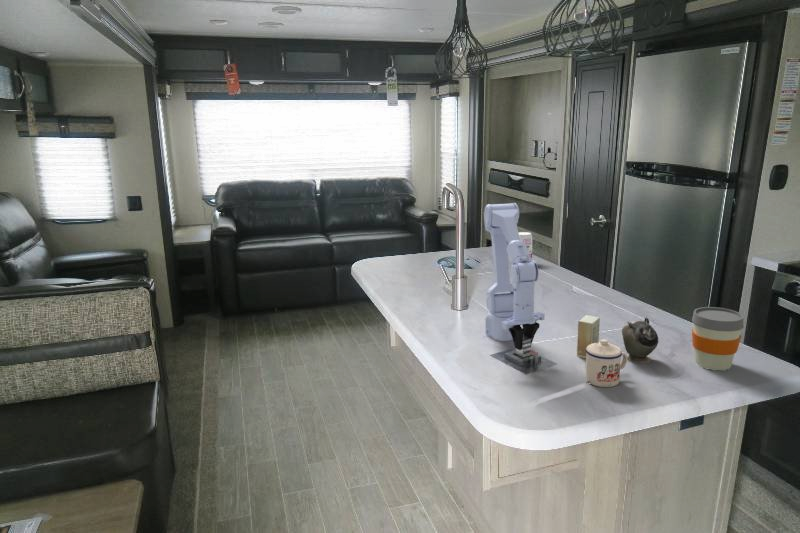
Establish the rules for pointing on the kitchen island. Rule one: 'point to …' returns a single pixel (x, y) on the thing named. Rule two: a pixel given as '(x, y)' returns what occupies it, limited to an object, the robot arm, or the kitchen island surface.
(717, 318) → the reusable coffee cup
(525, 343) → the grey ribbed block
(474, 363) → the kitchen island surface
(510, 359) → the stand base
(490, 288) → the robot arm
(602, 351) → the teacup with lid
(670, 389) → the kitchen island surface
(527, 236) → the supplement can
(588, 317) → the skincare box
